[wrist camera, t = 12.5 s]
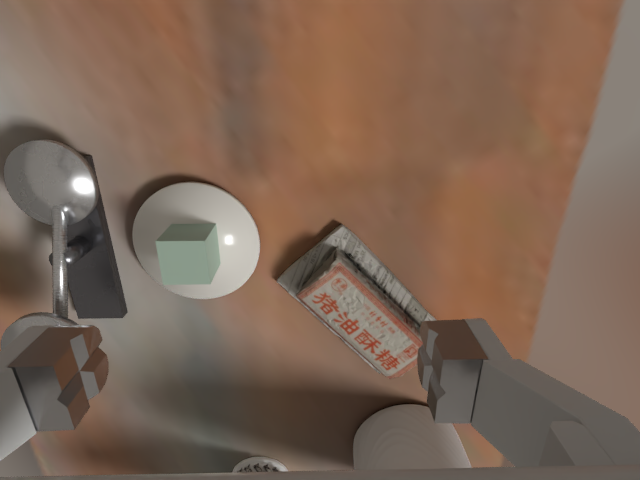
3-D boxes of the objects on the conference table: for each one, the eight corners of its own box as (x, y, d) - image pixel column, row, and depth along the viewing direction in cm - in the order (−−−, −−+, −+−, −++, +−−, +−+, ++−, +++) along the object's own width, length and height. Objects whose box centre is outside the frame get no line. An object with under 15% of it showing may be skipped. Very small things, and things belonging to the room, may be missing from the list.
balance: (18, 135, 38) (-76, 155, 29) (102, 134, 38) (35, 154, 29) (75, 327, 47) (16, 389, 37) (143, 326, 47) (101, 388, 38)
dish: (127, 180, 40) (120, 184, 39) (256, 178, 40) (254, 182, 39) (149, 292, 45) (144, 299, 44) (264, 291, 45) (263, 298, 44)
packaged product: (454, 347, 43) (384, 396, 46) (441, 322, 48) (378, 367, 50) (344, 236, 38) (271, 298, 41) (341, 219, 42) (276, 276, 45)
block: (171, 223, 40) (155, 241, 36) (216, 223, 40) (205, 240, 36) (177, 263, 42) (163, 284, 38) (220, 263, 42) (210, 284, 38)
